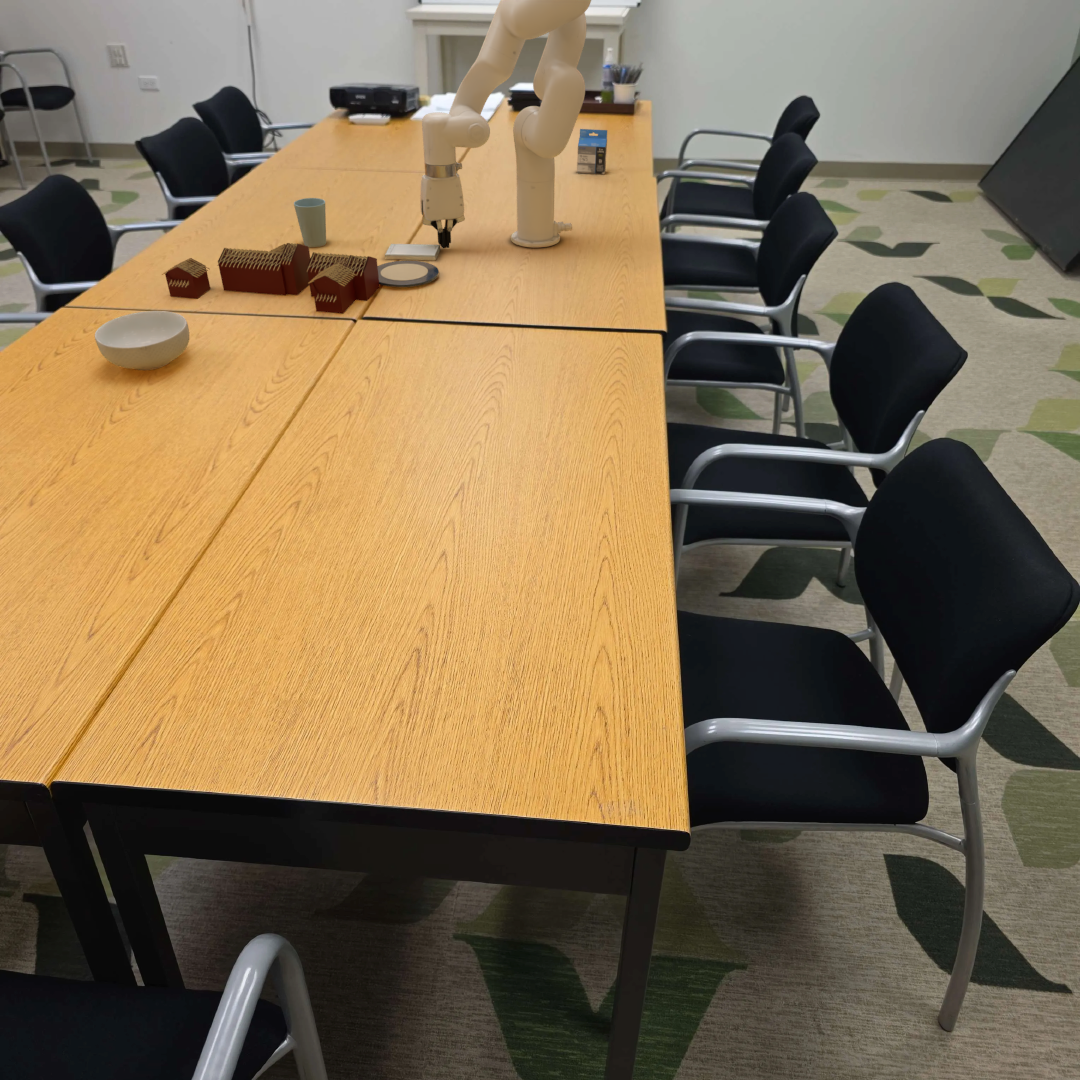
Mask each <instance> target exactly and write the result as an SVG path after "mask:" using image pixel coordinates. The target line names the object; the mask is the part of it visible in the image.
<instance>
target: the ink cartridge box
mask: <svg viewBox="0 0 1080 1080" xmlns="http://www.w3.org/2000/svg"><path fill="white" fill-rule="evenodd" d="M593 133H594V135H590V134H593ZM607 148H608V130H607V129H594V128H593V129H591V128H580V129H579V137H578V143H577V157H576V158H577V162H576V173H577V174H591V175H592V174H593V175H605V174H606V170H607V152H608V151H607V150H608V149H607Z"/></svg>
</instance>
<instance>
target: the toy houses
mask: <svg viewBox="0 0 1080 1080" xmlns="http://www.w3.org/2000/svg"><path fill="white" fill-rule="evenodd" d="M216 266H217V267H218V269H219V274H220V278H221V283H222V289H223V291H224V292H225V291H226V292H238V293H250V294H262V295H272V296H273V295H274V296H284V297H285V296H288V295H290V296H299V295H300V294H301V293H302V292H304V290H305V289H306V288H308V287H309V292H310V297H313V298H314V305H315V306H314V307H315V312H318V313H330V314H340V315H341V314H344V313H345V312H347V310H348V309H350V307H351V306H352V305H353V304H354V303H355V302H356V301H363V302H368V301H369V300H370V299H371V298H372V296H374V294H376V292H378V290H379V289H380V287H381V285H380V284H379V276H378V266H379V265H378V258H376V257H373V256H369V255H368V256H366V255H363V256H362V255H353V254H343V253H341V254H339V253H337V254H336V253H327V252H325V253H324V252H322V253H321V252H314V251H313V252H312V253H310V247H308V246H305V245H304V244H301V243H294V242H292V243H290V242H287V243H283V244H281V245H279V246H277V247H275V248H272V249H271V250H259V249H257V250H255V249H247V248H246V249H244V248H241V249H240V248H231V247H223V250H222V252H221V254H220V256H219V258H218V260H217V265H216ZM209 270H210V268H209V267H207V265H206V264H203V263H202V262H200V261H197V260H196V259H193V258H192V257H189V258H187V259H185V260H183V261H181V262H179V263H177V264H175V265H173V266H172V267H171V268H169V269H167V270H166V271H164V272H163V273H161V276H164V275H165V279H166V284H167V288H168V291H169V296H170V297H172V298H184V299H195V300H198V299H199V298H200V297H202V296H203V295H205V294H206V293H207V292H209V291H210V290H211V289H212V288H211V284H210V280H209V279H210V278H209V275H208V271H209Z"/></svg>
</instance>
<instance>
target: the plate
mask: <svg viewBox="0 0 1080 1080" xmlns="http://www.w3.org/2000/svg"><path fill="white" fill-rule="evenodd" d="M377 266H378V276H379V286H385V287H390V288H391V287H392V288H413V287H418V286H423V285H426V284H429V283H432V282H434V281H435V280H436V279H437V278H439V275H440V271H439V268H438V267H437V266H435V265H434V264H432V263H429V262H425V261H422V260H395V261H394V260H393V261H389V262H386V263H382V264H378V265H377Z"/></svg>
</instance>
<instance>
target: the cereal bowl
mask: <svg viewBox="0 0 1080 1080" xmlns="http://www.w3.org/2000/svg"><path fill="white" fill-rule="evenodd" d="M94 340H95V343H96V345H97V348H98V351H99V353H100V354H101V355H102V356H103V358H104V359H106V360H107V361H108V362H109V363H111V364H112V365H115V366H117V367H120V368H124V369H129V370H130V369H132V370H135V371H136V370H137V371H151V370H158V369H161V368H162V367H165V366H167V365H168V364H170V363H171V362H172V361H174V360H176V359H177V358H178V357H180V356H181V355H182V354H183V353H184V352H185V351H186V348H188V345H189V342H190V327H189V324H188V321H187V319H186V318H185V317H184V316H183V315H182V314H180V313H177V312H173V311H167V310H148V311H147V310H146V311H138V312H133V313H128V314H125V315H120V316H118V317H115V318H113V319H109V320H108V321H106V322H104V323H103V324H102V325H100V326H99V327H98V328H97V329H96V331H95V333H94Z"/></svg>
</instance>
